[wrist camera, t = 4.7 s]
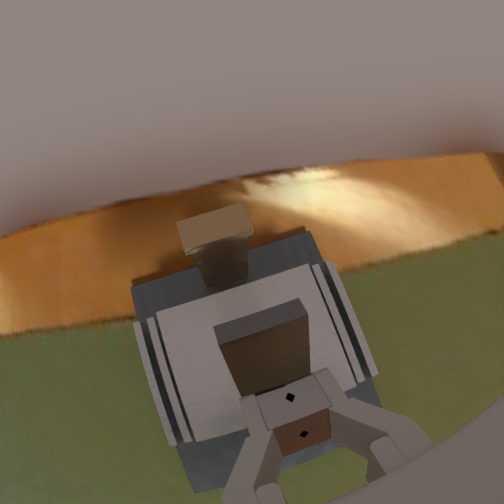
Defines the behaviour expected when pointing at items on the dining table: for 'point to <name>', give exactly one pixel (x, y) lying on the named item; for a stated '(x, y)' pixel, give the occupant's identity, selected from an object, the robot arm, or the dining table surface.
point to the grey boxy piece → (230, 308)
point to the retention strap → (266, 347)
